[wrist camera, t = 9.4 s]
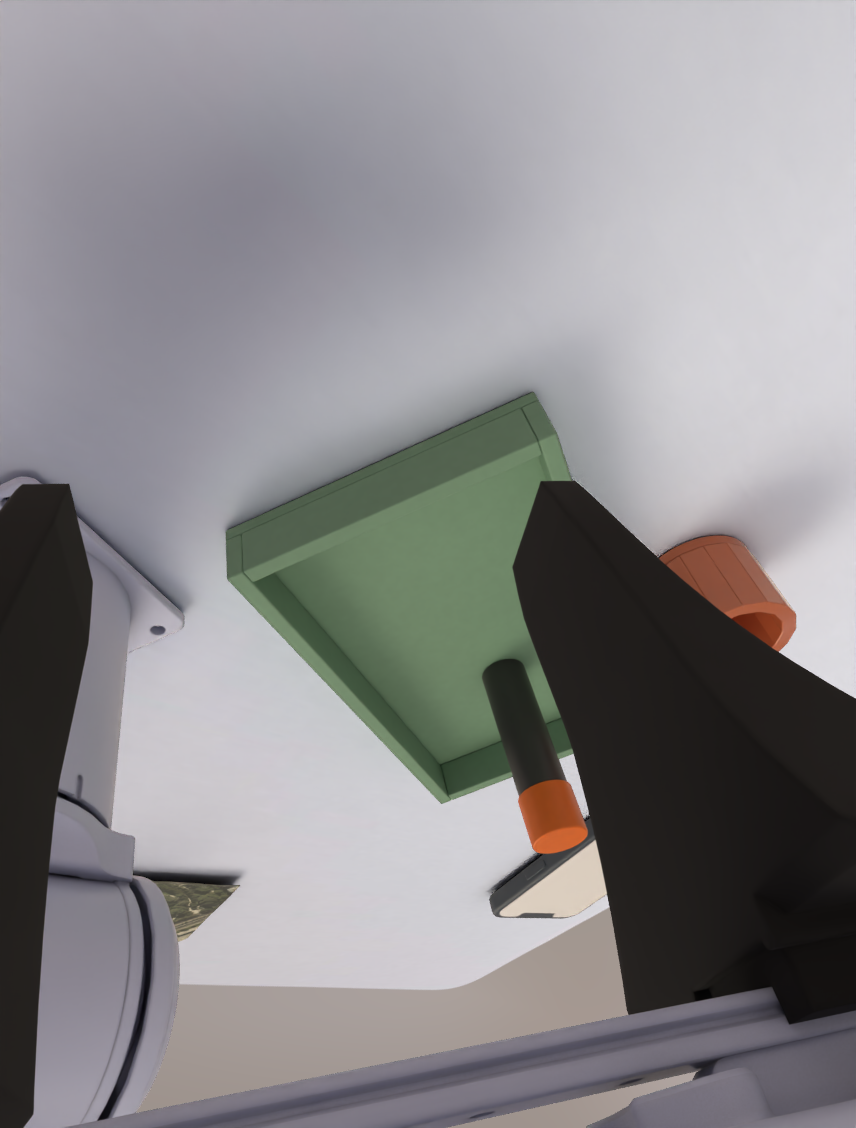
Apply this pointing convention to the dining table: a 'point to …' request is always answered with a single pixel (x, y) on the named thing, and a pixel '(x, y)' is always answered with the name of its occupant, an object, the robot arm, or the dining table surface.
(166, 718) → the dining table surface
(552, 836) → the marker
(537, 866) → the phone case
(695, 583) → the pen pot
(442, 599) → the tray
